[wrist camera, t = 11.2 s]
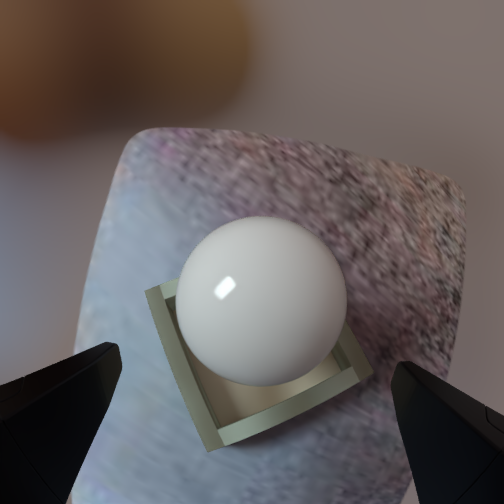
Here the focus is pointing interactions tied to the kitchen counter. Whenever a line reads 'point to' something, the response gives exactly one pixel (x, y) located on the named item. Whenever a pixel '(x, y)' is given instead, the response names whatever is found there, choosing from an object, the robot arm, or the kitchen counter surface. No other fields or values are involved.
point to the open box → (241, 396)
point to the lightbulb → (261, 301)
